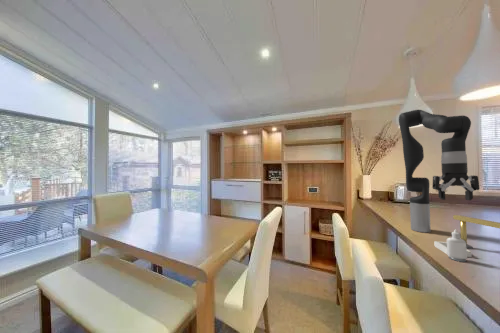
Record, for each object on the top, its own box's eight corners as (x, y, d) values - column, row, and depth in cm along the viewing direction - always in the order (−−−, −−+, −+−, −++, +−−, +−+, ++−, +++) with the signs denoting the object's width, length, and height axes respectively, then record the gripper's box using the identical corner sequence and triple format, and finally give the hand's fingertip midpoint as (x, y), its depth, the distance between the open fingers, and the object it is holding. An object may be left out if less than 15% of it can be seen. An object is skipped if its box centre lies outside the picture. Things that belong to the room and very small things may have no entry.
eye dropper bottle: (466, 261, 76) (464, 232, 77) (446, 256, 81) (445, 229, 81) (467, 258, 79) (466, 230, 79) (448, 254, 84) (447, 227, 84)
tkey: (513, 258, 78) (512, 224, 78) (509, 258, 77) (507, 225, 77) (458, 241, 95) (457, 214, 95) (454, 242, 95) (453, 215, 95)
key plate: (455, 244, 95) (455, 242, 95) (466, 245, 93) (466, 243, 93) (461, 247, 91) (461, 245, 91) (472, 248, 89) (472, 246, 89)
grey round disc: (445, 255, 83) (445, 254, 83) (460, 257, 81) (460, 256, 81) (453, 261, 78) (453, 259, 78) (469, 262, 77) (469, 261, 77)
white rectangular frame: (434, 246, 93) (434, 241, 93) (455, 248, 91) (455, 242, 91) (447, 254, 84) (447, 249, 84) (471, 257, 81) (471, 251, 81)
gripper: (438, 162, 79) (440, 200, 79) (483, 161, 75) (485, 201, 74) (428, 163, 86) (429, 198, 86) (468, 161, 82) (470, 198, 81)
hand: (455, 199), depth 80 cm, fingers open, 8 cm apart
